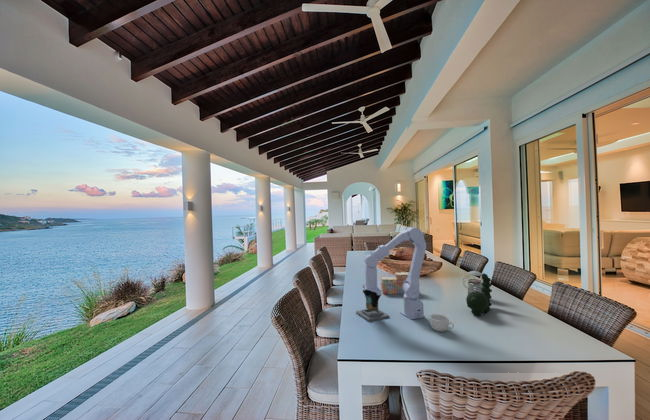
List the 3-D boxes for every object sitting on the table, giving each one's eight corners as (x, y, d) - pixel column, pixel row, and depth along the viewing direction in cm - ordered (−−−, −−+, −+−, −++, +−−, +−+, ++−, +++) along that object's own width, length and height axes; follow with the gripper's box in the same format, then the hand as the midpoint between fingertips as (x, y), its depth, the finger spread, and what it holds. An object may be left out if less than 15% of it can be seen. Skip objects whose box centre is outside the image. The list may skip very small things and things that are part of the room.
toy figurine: (477, 306, 154) (461, 315, 136) (477, 271, 155) (461, 275, 137) (497, 310, 147) (483, 321, 129) (497, 273, 148) (483, 278, 130)
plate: (389, 317, 138) (389, 313, 138) (368, 321, 133) (368, 317, 133) (375, 309, 149) (375, 305, 149) (356, 313, 144) (356, 309, 144)
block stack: (378, 309, 140) (378, 296, 140) (370, 311, 138) (370, 298, 138) (373, 306, 144) (373, 294, 144) (366, 308, 142) (365, 295, 142)
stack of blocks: (382, 294, 175) (382, 274, 175) (381, 291, 181) (380, 272, 181) (417, 294, 174) (416, 274, 174) (414, 291, 180) (414, 272, 180)
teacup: (427, 330, 123) (426, 317, 123) (434, 324, 128) (433, 312, 128) (450, 336, 116) (450, 323, 116) (456, 330, 121) (456, 318, 121)
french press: (488, 299, 160) (487, 256, 160) (468, 299, 161) (466, 256, 161) (479, 294, 170) (478, 253, 170) (460, 294, 171) (459, 253, 170)
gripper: (357, 276, 146) (358, 302, 146) (372, 283, 133) (372, 311, 133) (369, 275, 149) (369, 300, 149) (384, 281, 135) (385, 309, 135)
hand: (372, 305), depth 141 cm, fingers closed on block stack, 4 cm apart
